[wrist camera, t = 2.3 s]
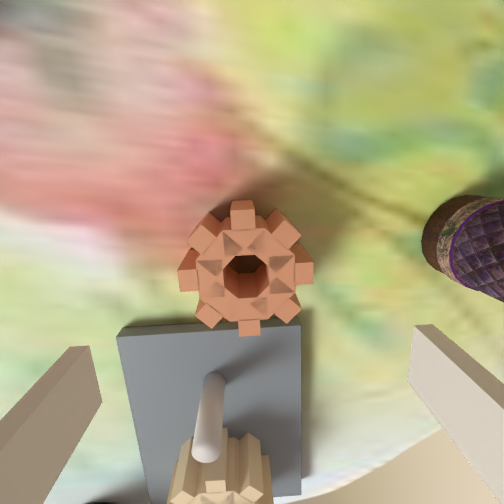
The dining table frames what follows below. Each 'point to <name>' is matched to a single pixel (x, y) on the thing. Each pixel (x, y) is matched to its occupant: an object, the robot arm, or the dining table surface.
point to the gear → (245, 284)
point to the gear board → (244, 396)
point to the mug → (468, 243)
